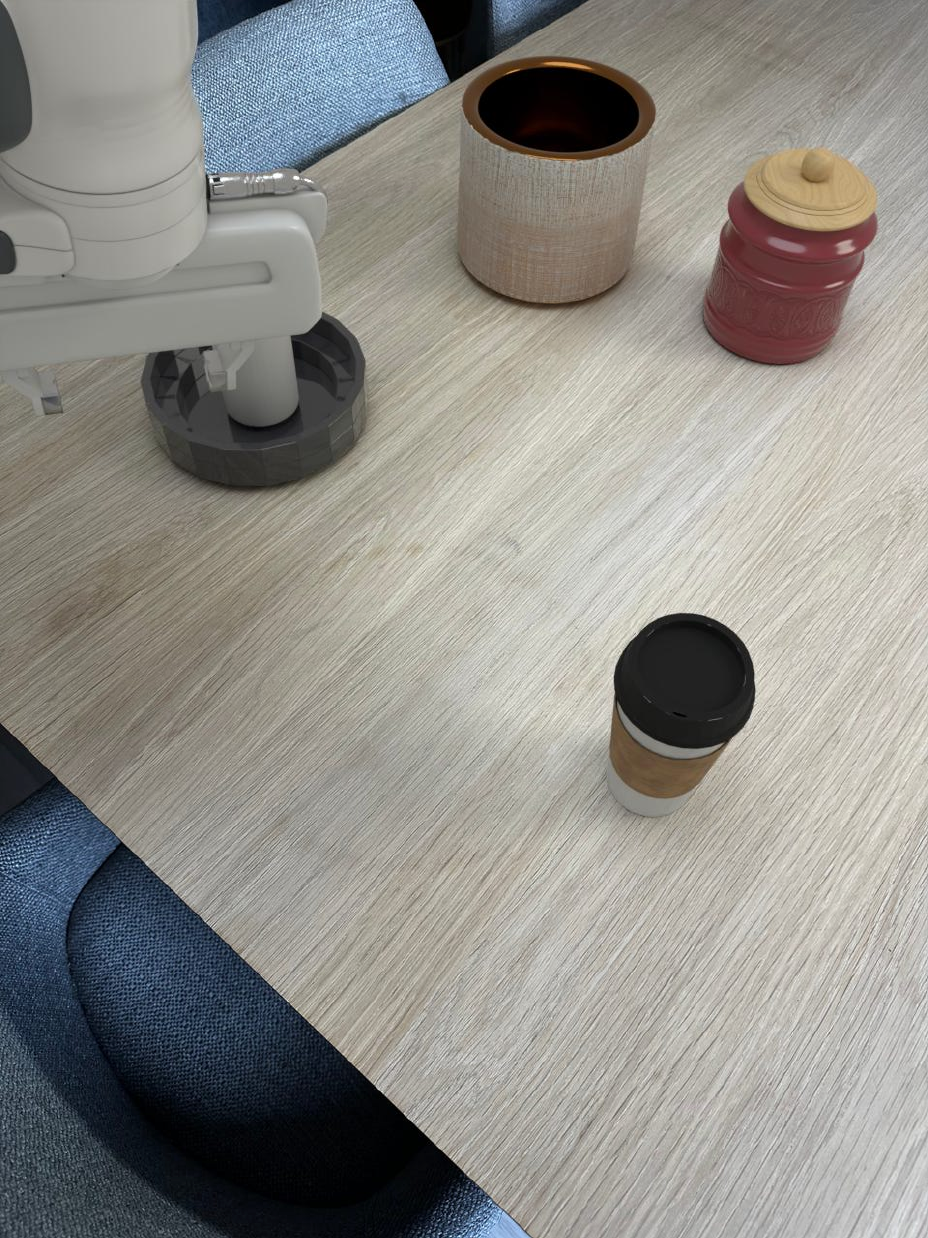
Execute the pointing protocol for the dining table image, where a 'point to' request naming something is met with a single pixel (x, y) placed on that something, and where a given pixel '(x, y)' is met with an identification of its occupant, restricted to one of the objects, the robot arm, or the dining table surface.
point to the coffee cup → (675, 709)
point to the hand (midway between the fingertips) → (136, 394)
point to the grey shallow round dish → (272, 453)
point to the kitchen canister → (789, 255)
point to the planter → (552, 176)
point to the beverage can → (264, 385)
